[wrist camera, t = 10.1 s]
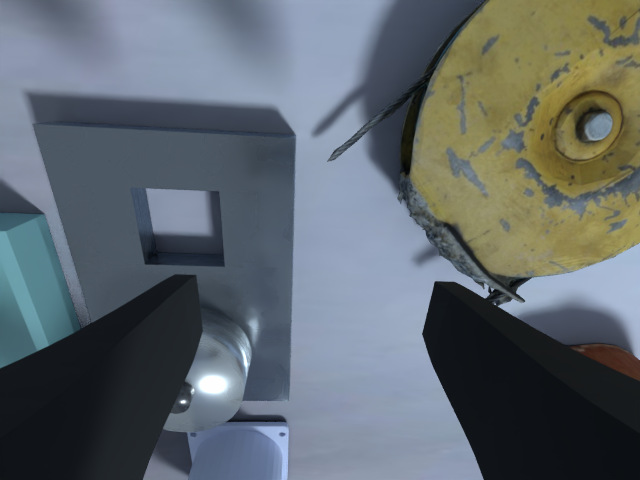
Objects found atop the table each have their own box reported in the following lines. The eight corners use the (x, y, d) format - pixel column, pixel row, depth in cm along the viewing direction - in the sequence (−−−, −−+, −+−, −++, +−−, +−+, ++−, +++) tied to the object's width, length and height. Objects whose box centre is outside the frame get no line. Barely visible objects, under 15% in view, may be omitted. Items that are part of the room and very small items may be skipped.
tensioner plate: (289, 383, 24) (285, 455, 19) (126, 382, 23) (78, 457, 18) (296, 135, 16) (291, 149, 12) (56, 121, 16) (-54, 131, 11)
